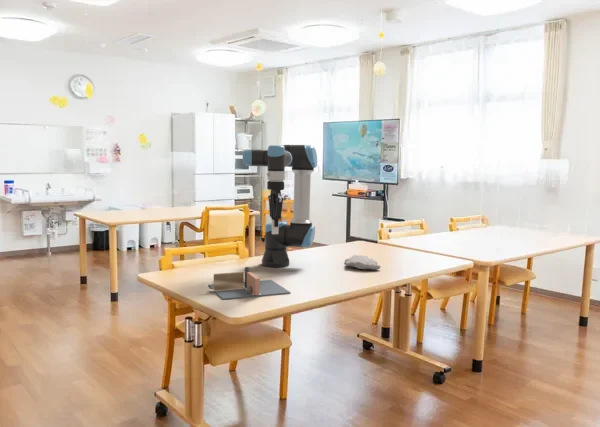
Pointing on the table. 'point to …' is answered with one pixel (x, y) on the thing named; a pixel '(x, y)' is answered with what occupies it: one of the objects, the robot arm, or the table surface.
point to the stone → (362, 262)
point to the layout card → (263, 291)
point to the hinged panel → (253, 283)
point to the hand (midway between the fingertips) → (275, 233)
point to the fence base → (230, 280)
